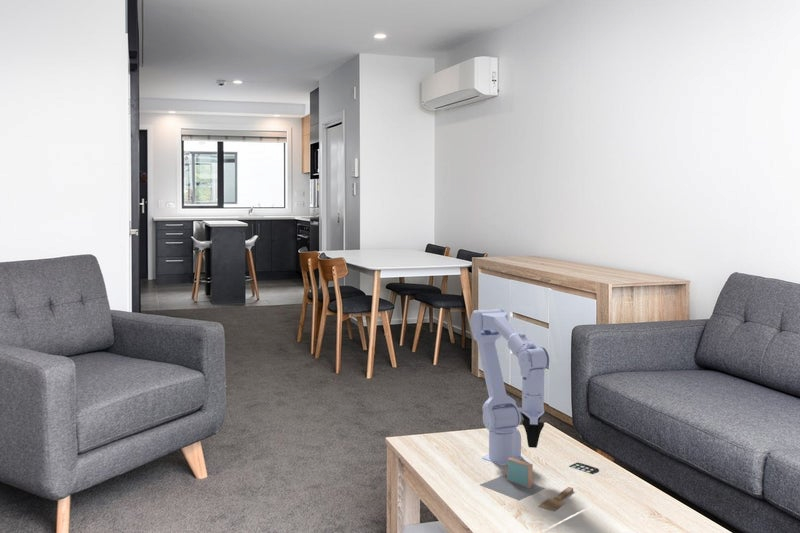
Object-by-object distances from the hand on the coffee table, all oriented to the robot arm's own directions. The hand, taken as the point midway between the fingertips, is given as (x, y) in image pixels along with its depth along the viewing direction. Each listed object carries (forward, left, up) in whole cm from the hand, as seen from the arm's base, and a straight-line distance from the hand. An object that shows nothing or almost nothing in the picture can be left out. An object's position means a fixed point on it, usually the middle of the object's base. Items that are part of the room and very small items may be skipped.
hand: (531, 442), depth 191 cm
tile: (+5, 0, -10) cm, 11 cm away
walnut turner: (+7, +13, -10) cm, 18 cm away
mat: (+8, 0, -10) cm, 13 cm away
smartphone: (-12, +5, -11) cm, 17 cm away
